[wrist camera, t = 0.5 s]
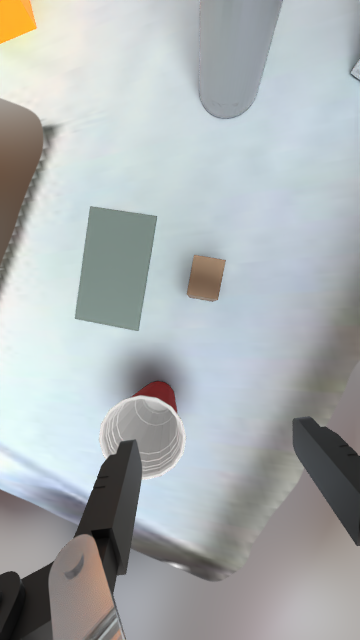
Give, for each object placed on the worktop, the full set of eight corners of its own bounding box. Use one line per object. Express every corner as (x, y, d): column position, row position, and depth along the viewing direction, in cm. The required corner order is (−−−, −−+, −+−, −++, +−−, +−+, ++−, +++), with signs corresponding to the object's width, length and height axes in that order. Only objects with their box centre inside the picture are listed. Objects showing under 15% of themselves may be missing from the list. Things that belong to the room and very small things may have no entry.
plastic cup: (191, 425, 36) (187, 484, 24) (133, 424, 37) (101, 480, 25) (188, 366, 35) (183, 397, 23) (129, 367, 36) (95, 397, 24)
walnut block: (195, 268, 34) (193, 254, 25) (218, 272, 33) (225, 260, 24) (189, 297, 34) (186, 294, 25) (212, 301, 34) (217, 299, 25)
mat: (90, 206, 35) (90, 206, 34) (157, 216, 34) (156, 216, 34) (75, 318, 36) (74, 318, 36) (138, 330, 35) (137, 331, 35)
